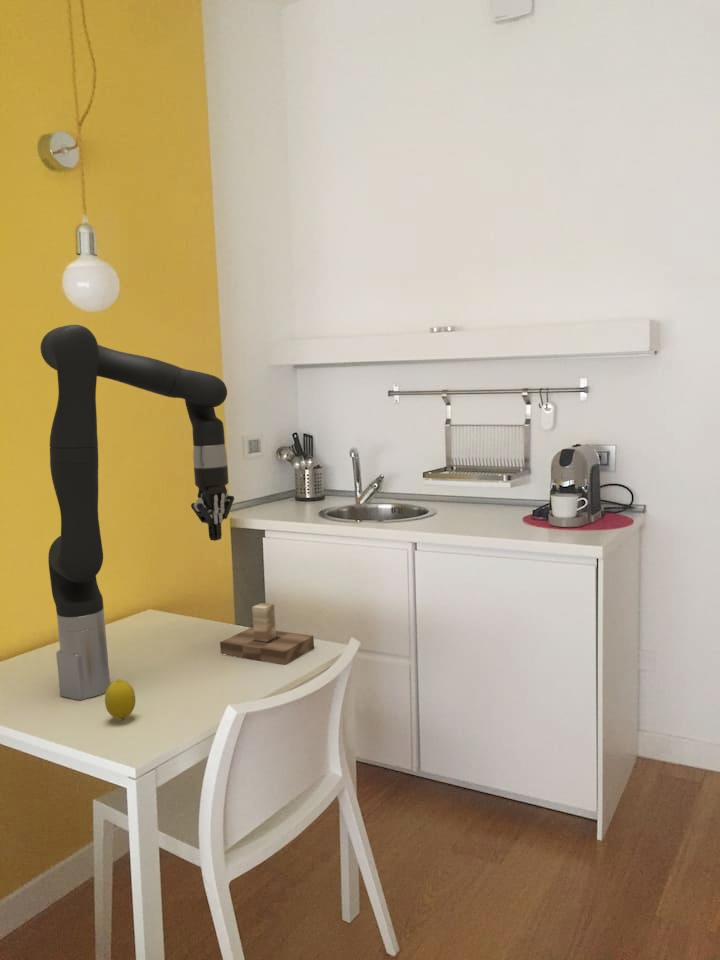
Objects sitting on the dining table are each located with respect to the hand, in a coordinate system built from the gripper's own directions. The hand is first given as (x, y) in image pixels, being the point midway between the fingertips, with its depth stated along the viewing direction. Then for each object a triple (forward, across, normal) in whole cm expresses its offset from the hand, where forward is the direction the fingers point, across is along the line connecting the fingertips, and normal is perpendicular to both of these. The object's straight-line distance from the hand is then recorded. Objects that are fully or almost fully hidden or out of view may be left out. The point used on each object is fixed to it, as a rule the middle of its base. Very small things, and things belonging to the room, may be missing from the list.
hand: (215, 539), depth 189 cm
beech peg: (+27, +5, -9) cm, 29 cm away
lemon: (+27, -38, -6) cm, 47 cm away
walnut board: (+27, +5, -9) cm, 29 cm away
